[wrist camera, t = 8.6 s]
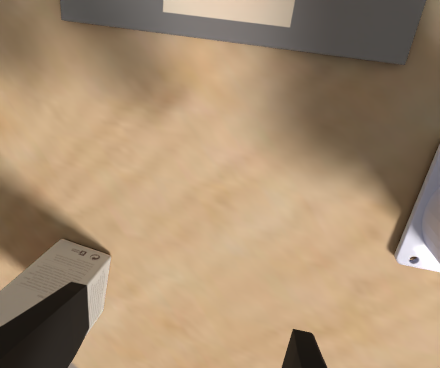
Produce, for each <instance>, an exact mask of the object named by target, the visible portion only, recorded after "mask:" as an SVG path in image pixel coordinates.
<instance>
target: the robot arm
mask: <svg viewBox="0 0 440 368" xmlns="http://www.w3.org/2000/svg"><path fill="white" fill-rule="evenodd" d="M415 256H416V258H415V259H414V260H409V259H410V258H411V257H415ZM395 259H396V261H397V262H398V263H399V264H402V265H406V266H411V267H416V268H421V269H426V270H431V271H436V272H440V144H439V146H438V149H437V151H436V154H435V156H434V159H433V161H432V164H431V166H430V169H429V171H428V173H427V176H426V178H425V181H424V183H423V186H422V188H421V191H420V193H419V195H418V198H417V200H416V203H415V205H414V208H413V210H412V213H411V215H410V218H409V220H408V222H407V225H406V227H405V230H404V232H403V235H402V237H401V240H400V242H399V244H398V247H397V249H396V252H395ZM88 330H89V310H88V291H87V285H84V284H80V283H75V282H70V283H68V284H66V285H65V286H63V287H62V288H60V289H59V290H57V291H56V292H54V293H52V294H51V295H49V296H48V297H46V298H45V299H43V300H42V301H40V302H39V303H37V304H36V305H34V306H32V307H31V308H29V309H28V310H26V311H25V312H23V313H21V314H20V315H18V316H17V317H15V318H14V319H12V320H10V321H9V322H7V323H6V324H4V325H2V326H0V368H68V366H69V364H70V363H71V362H72V360H73V358H74V357H75V355H76V353H77V351H78V349H79V348H80V346H81V344H82V342H83V340H84V338H85V336H86V334H87V332H88ZM282 368H327V366H326V364H325V361H324V359H323V357H322V354H321V352H320V350H319V347H318V345H317V342H316V340H315V337H314V335H313V334H312V333H310V332H305V331H301V330H296V329H293V331H292V334H291V338H290V341H289V344H288V348H287V351H286V355H285V358H284V362H283V365H282Z"/></svg>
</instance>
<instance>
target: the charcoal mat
mask: <svg viewBox="0 0 440 368" xmlns="http://www.w3.org/2000/svg"><path fill="white" fill-rule="evenodd" d="M425 3H426V0H60V4H61V19H62V20H64V21H72V22H80V23H87V24H95V25H103V26H110V27H118V28H126V29H133V30H141V31H149V32H156V33H164V34H171V35H179V36H187V37H194V38H202V39H210V40H217V41H225V42H233V43H240V44H248V45H256V46H263V47H271V48H279V49H286V50H294V51H302V52H309V53H317V54H324V55H332V56H340V57H347V58H355V59H363V60H370V61H378V62H386V63H393V64H401V65H405V63H406V60H407V57H408V54H409V51H410V48H411V45H412V42H413V39H414V36H415V33H416V30H417V27H418V24H419V21H420V18H421V15H422V12H423V9H424V6H425Z"/></svg>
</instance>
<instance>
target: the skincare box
mask: <svg viewBox="0 0 440 368" xmlns="http://www.w3.org/2000/svg"><path fill="white" fill-rule="evenodd" d="M110 261H111V256H110V255H108V254H105V253H103V252H100V251H97V250H94V249H91V248H88V247H85V246H82V245H79V244H76V243H73V242H70V241H68V240H65V239H60V240H59V241H58V242H57V243H55V244H54V245H53V246H52V247H51V248H50V249H48V250H47V251H46V252H45V253H44V254H43V255H41V256H40V257H39V258H38V259H37V260H36V261H35V262H33V263H32V264H31V265H30V266H29V267H28V268H26V269H25V270H24V271H23V272H22V273H21V274H19V275H18V276H17V277H16V278H15V279H14V280H12V281H11V282H10V283H9V284H8V285H7V286H5V287H4V288H3V289H2V290H1V291H0V326H2V325H4V324H6V323H7V322H9V321H10V320H12V319H14V318H15V317H17V316H18V315H20V314H21V313H23V312H25V311H26V310H28V309H29V308H31V307H32V306H34V305H36V304H37V303H39V302H40V301H42V300H43V299H45V298H46V297H48V296H49V295H51V294H52V293H54V292H56V291H57V290H59V289H60V288H62V287H63V286H65V285H66V284H68V283H70V282H75V283H80V284H84V285H87V291H88V310H89V330H88V332H89V331H90V329H91V328H92V326H93V325H94V323H95V322H96V320H97V319H98V318H99V316H100V315H101V313H102V312H103V309H104V302H105V295H106V288H107V281H108V274H109V268H110ZM88 332H87V333H88ZM86 335H87V334H86Z"/></svg>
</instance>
